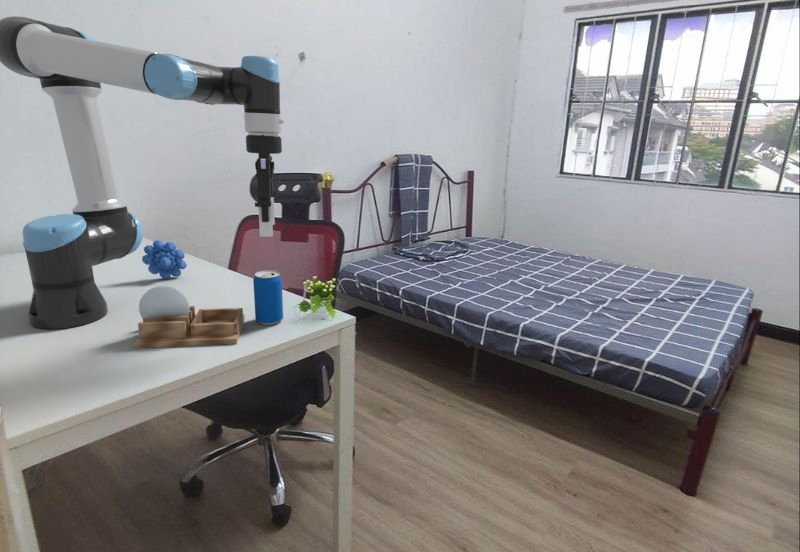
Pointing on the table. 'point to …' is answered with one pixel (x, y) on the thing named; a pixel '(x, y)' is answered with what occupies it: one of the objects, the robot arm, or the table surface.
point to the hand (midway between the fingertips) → (267, 230)
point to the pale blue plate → (163, 303)
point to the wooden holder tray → (192, 328)
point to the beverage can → (268, 297)
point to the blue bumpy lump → (164, 259)
